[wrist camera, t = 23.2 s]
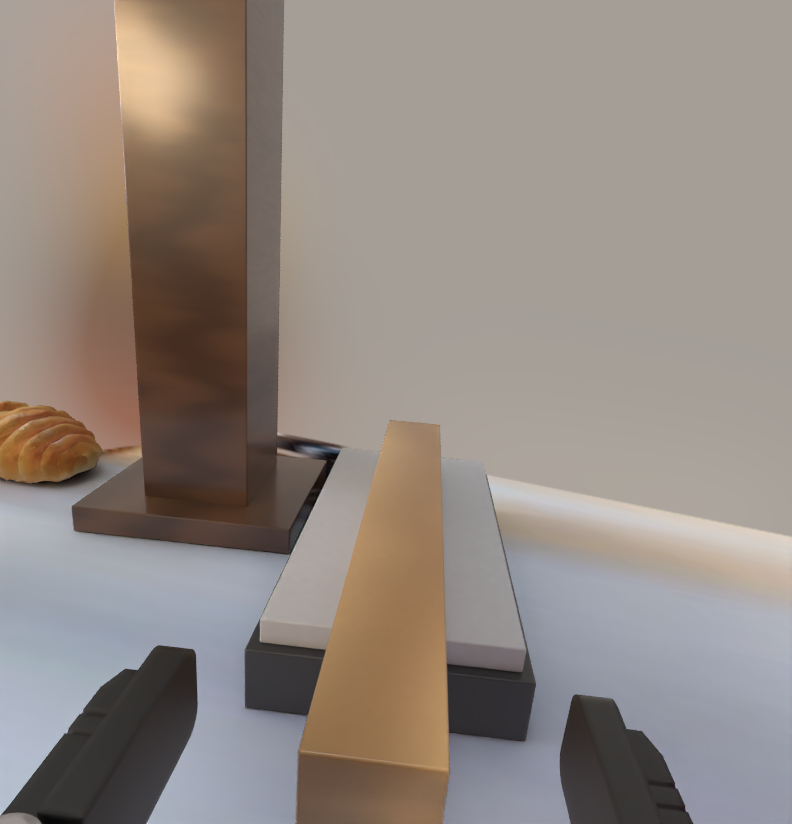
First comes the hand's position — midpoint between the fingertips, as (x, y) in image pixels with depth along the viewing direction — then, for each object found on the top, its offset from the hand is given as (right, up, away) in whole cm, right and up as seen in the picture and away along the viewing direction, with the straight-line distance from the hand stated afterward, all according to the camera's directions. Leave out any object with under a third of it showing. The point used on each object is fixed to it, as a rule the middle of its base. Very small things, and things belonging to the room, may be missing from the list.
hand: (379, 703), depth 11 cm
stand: (-11, 0, +22) cm, 25 cm away
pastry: (-25, +2, +26) cm, 36 cm away
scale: (+1, -2, +16) cm, 16 cm away
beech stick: (0, 0, +10) cm, 10 cm away
